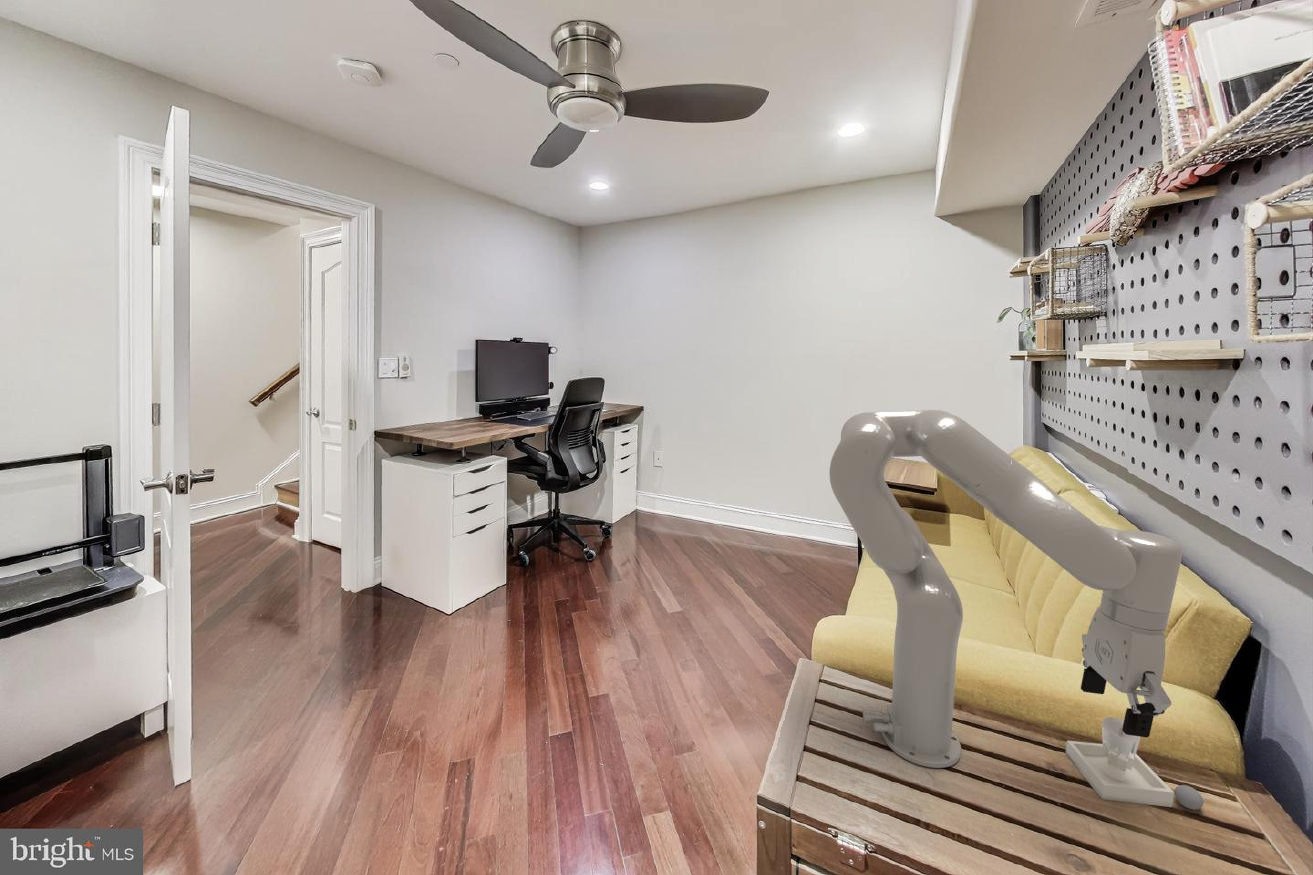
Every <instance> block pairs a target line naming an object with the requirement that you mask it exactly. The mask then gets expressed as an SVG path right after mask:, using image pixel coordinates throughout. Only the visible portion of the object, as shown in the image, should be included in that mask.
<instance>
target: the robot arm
mask: <svg viewBox="0 0 1313 875" xmlns="http://www.w3.org/2000/svg"><path fill="white" fill-rule="evenodd" d="M902 457H903V458H904V457H906V458H907V457H908V458H909V457H921V458H922V459H924V460H925V461H926V462H927V463H928V464H929V465H930V466H932V467H933V468H934V469H935V470H937V471H938V472H939V473H941V474H942V475H943V476H945V477H946V478H947V479H948V480H950V481H951V482H952V483H953V484H955V485H956V486H957V487H958V488H960V489H961V490H962V491H963V492H965V493H966V494H967V495H968V496H969V497H971V499H973V500H974V501H975V502H977V503H978V504H979V505H980V506H982V507H983V508H984V509H985V510H987V511H988V512H989V513H990V514H992V515H993V516H994V517H996V519H998V520H1000V521H1001V522H1002V523H1004V524H1005V525H1007V526H1009V527H1010V528H1012V530H1014V531H1016V532H1017V533H1018V534H1020V535H1021V536H1022V537H1024V539H1026V540H1027V541H1028V542H1030V543H1031V544H1032V545H1034V546H1035V547H1036V548H1037V549H1039V550H1040V551H1041V552H1042V553H1044V554H1045V555H1046V556H1048V557H1049V558H1050V559H1051V560H1052V561H1054V562H1055V563H1056V564H1057V565H1059V566H1060V567H1061V568H1062V569H1064V570H1065V571H1066V572H1067V573H1069V574H1070V575H1071V577H1074V578H1075V579H1076V580H1077V581H1078V582H1080V583H1081V584H1083V585H1084V586H1086V587H1089V588H1091V589H1093V590H1098V591H1102V593H1101V600H1100V605H1099V606H1098V607H1097V608H1096V609H1095V611H1094V614H1093V616H1092V618H1091V620H1090V624H1089V626H1088V629H1087V633H1086V634H1083V633H1082V634H1081V639H1082V640H1081V641H1082V646H1083V647H1082V649H1081V652H1082V657H1083V660H1082V666H1083V667H1084V669H1083V673H1082V680H1081V683H1080V690H1081V691H1083V693H1090V694H1097V695H1105V691H1106V686H1107V682H1108V684H1110V685H1111V686H1112V687H1113V688H1114V689H1115V690H1117V692H1120V693H1122V694H1126V696H1127V699H1128V703H1129V706H1130V708H1129V707H1126V710H1125V714H1124V719H1123V720H1124V723H1123V728H1122V731H1123V732H1124V733H1125V734H1126V735H1132V736H1139V737H1141V738H1149V737H1150V735H1151V730H1152V726H1153V721H1154V717H1158V716H1159V715H1162V714H1165V711H1166V710H1167V709H1168V708H1170V706H1171V705H1172V700H1171V699H1170V697H1169V696H1168V694H1167V692H1166V691H1165V688H1163V686H1162V681H1163V678H1164V676H1163V675H1164V669H1165V659H1166V634H1165V633H1166V631H1167V628H1168V621H1169V618H1170V613H1171V612H1170V611H1171V607H1172V604H1173V598H1174V594H1175V590H1176V585H1177V581H1178V576H1179V572H1180V567H1181V562H1182V557H1183V549H1182V547H1181V545H1180V544H1179V542H1177V541H1176V540H1174V539H1172V538H1170V537H1167V536H1165V535H1161V534H1157V533H1154V532H1149V531H1145V530H1144V531H1143V530H1136V529H1134V530H1133V529H1125V530H1120V529H1115V528H1111V527H1107V526H1102V525H1098V524H1097V523H1095V522H1094V521H1092V519H1090V518H1089V517H1088V516H1086V515H1085V514H1084V513H1082V512H1081V511H1079V510H1078V509H1077V508H1076V507H1075V506H1073V505H1072V504H1071V503H1069V502H1068V501H1066V500H1065V499H1064V498H1063V497H1061V496H1060V495H1059V494H1058V493H1057V492H1055V490H1053V489H1052V488H1050V486H1049V485H1048V484H1046V483H1045V482H1044V481H1042V479H1040V478H1039V477H1038V476H1037V475H1035V474H1034V473H1032V472H1031V471H1030V469H1028V468H1027V467H1025V466H1024V465H1023V464H1021V463H1020V462H1018V461H1017V460H1016V459H1014V458H1013V457H1012V456H1011V455H1010V454H1008V453H1007V452H1005V451H1004V450H1003V449H1001V447H999V446H998V445H997V444H995V443H994V442H992V440H990V439H989V438H988V437H987V436H985V435H984V434H982V433H981V432H980V431H978V430H977V429H976V428H975V427H973V426H972V425H971V424H970V423H968V422H967V421H965V420H964V419H962V418H960V417H959V416H957V415H954V414H952V413H950V412H947V411H945V410H942V409H940V410H936V409H928V410H927V409H926V410H925V409H924V410H906V411H904V410H903V411H872V412H871V411H870V412H869V411H868V412H861V413H858V414H855V415H853V416H851V417H850V418H849V419H847V421H845V422H844V424H843V426H842V428H841V431H840V441H839V443H838V445H837V446H836V448H835V449H834V452H833V455H832V457H831V459H830V463H829V464H830V465H829V473H828V474H829V482H830V486H831V490H832V493H833V494H834V496H835V498H836V500H837V503H838V504H839V505H840V507H841V509H842V510H843V513H844V514H845V516H846V517H847V520H848V522H849V524H850V525H851V527H852V528H853V530H854V532H855V533H856V535H857V537H858V538H859V540H860V542H861V543H862V545H863V548H864V550H865V551H866V554H867V555H868V556H869V558H870V560H871V561H872V562H873V563H874V564H875V565H876V566H877V567H878V568H880V569H881V570H883V571H884V573H885V575H886V576H887V578H888V580H889V581H890V583H891V585H892V587H893V591H894V598H895V600H896V609H897V611H896V612H897V614H896V626H895V631H894V646H893V670H892V671H893V672H892V691H891V692H892V693H891V694H892V695H891V696H892V698H891V704H887V705H886V710H880V712H876V711H871V710H863V711H862V718H863V722H864V723H865V724H866V723H868V724H872V725H873V731H874V732H878V733H879V732H880V733H881V736H882V738H883V741H884V742H885V743H886V744H887V746H888V748H890V749H891V750H892V751H893V752H894V753H896V755H899V756H900V757H901V758H903V759H905V760H907V761H909V762H911V763H912V764H916V765H918V766H923V767H926V768H935V769H939V768H940V769H943V768H949V767H951V766H954V765H956V763H957V762H959V760H960V758H961V755H962V745H961V742H960V740H959V738H958V736H957V735H956V734H955V732H953V715H954V704H955V703H954V702H955V700H954V698H955V689H956V688H955V686H956V685H955V684H956V670H957V669H956V668H957V667H956V666H957V653H958V647H959V646H958V644H959V639H960V635H961V630H962V626H963V621H964V611H963V604H962V600H961V598H960V597H961V596H960V595H959V593H958V591H957V588H956V587H955V585H954V584H953V582H952V580H951V578H950V577H949V575H948V573H947V571H946V569H945V568H944V566H943V565H942V563H941V562H940V560H939V558H938V557H937V556H936V554H935V552H934V550H933V549H932V547H931V546H930V544H929V542H928V541H927V539H926V538H925V536H924V535H923V532H921V530H920V528H919V526H918V525H917V523H916V522H915V520H914V518H913V517H912V516H911V515H910V514H909V513H908V512H907V511H906V510H904V509H903V508H902V507H901V506H900V504H899V502H898V501H897V499H896V497H895V496H894V493H893V492H892V491H891V488H890V487H889V486H888V484H887V482H886V479H885V469H886V466H887V465H888V463H889V462H890V460H891V458H902ZM1139 696H1141V697H1143V699H1144V703H1140V702H1139V698H1138V697H1139Z"/></svg>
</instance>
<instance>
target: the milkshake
mask: <svg viewBox="0 0 1313 875" xmlns="http://www.w3.org/2000/svg"><path fill="white" fill-rule="evenodd" d="M1123 723H1124V719H1122V718H1118V717H1117V718H1116V717H1112V716H1111V717H1110V716H1109V717H1105V718H1104V719H1102V722H1101V733H1102V734H1101V735H1102V744H1103V764H1102V770H1103V772H1104V773H1105V774H1106V775H1107V776H1109V777H1110V778H1112V779H1114V780H1116V781H1120V782H1127V781H1129V778H1130V774H1131V770H1132V766H1133V762H1134V758H1135V754H1137V751H1138V747H1139V745H1140V742H1141V738H1142V737H1139V736H1132V735H1126V734H1125V733H1124V732H1123V731H1122V728H1123Z"/></svg>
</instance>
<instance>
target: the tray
mask: <svg viewBox="0 0 1313 875" xmlns="http://www.w3.org/2000/svg"><path fill="white" fill-rule="evenodd" d="M1065 755H1066V756H1067V757H1068V759H1069V760H1070V762H1072V764H1073V766H1075V767H1076V769H1077V770H1078V772H1080V773H1081V775H1082V776H1083V777H1084V779H1085V780H1086V781H1087V783H1088V784H1089V785H1090V786H1091V787H1092V789H1093V790H1094V791H1095V792H1096V794H1097V795H1098V796H1099V797H1100V798H1101V800H1105V801H1115V802H1123V803H1132V804H1141V805H1150V806H1158V807H1168V808H1173V802H1174V796H1175V793H1174V791H1173V790H1172V788H1170V787H1169V786H1168V784H1166V782H1164V781H1163V779H1161V777H1159V776H1158V774H1157V773H1156V772H1155V771H1154V770H1153V769H1152V768H1151V767H1150V766H1148V764H1147V763H1146V762H1145V761H1144V760H1143V759H1142V758H1141V757H1140V756H1139V755H1138V754H1137V753H1136V754H1135V758H1134V762H1133V766H1132V770H1131V774H1130V778H1129V781H1127V782H1120V781H1116V780H1114V779H1112V778H1110V777H1109V776H1107V775H1106V774H1105V773H1104V772H1103V770H1102V764H1103V743H1098V742H1097V743H1096V742H1084V741H1074V740H1066V747H1065Z"/></svg>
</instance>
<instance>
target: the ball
mask: <svg viewBox="0 0 1313 875" xmlns="http://www.w3.org/2000/svg"><path fill="white" fill-rule="evenodd" d="M1173 792H1174V796H1175V799H1176V800H1177V801H1178V802H1179V804H1180V805H1182V806H1183V807H1185V808H1187V809H1190V810H1199V809H1202V807H1203V806H1204V799H1203V797H1202V794H1200V793H1199V791H1197V789H1195V788H1194V787H1191V786H1189V785H1184V784H1181V785H1177V786H1176V787H1175V789H1174V791H1173Z"/></svg>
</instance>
